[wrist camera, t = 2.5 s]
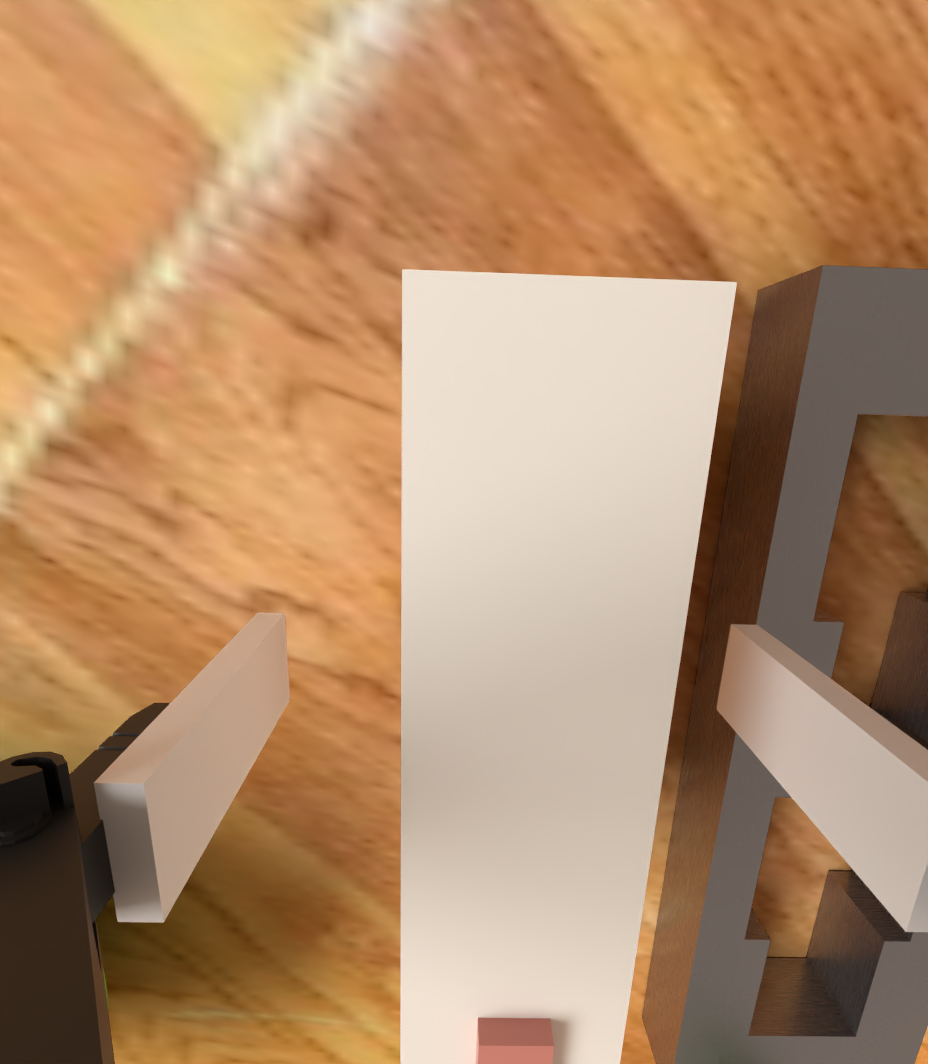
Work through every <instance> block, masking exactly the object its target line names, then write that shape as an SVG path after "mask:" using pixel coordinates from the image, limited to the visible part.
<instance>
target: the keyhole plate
mask: <svg viewBox="0 0 928 1064" xmlns="http://www.w3.org/2000/svg"><path fill="white" fill-rule="evenodd" d="M858 415H887V416H917V417H928V269H905V268H879V267H854V266H828V265H823V266H820V267H817V268H815V269H812V270H809V271H807V272H804V273H802V274H799V275H796V276H794V277H791V278H788V279H786V280H783V281H781V282H778V283H775V284H773V285H770V286H767V287H765V288H762V289H760V290H758V295H757V301H756V307H755V313H754V320H753V326H752V332H751V338H750V345H749V351H748V357H747V363H746V370H745V376H744V382H743V388H742V395H741V401H740V407H739V413H738V420H737V426H736V432H735V439H734V445H733V451H732V457H731V464H730V470H729V476H728V482H727V489H726V495H725V501H724V507H723V514H722V520H721V526H720V532H719V539H718V545H717V551H716V557H715V564H714V570H713V576H712V582H711V589H710V595H709V601H708V607H707V614H706V620H705V626H704V632H703V639H702V645H701V651H700V657H699V664H698V670H697V676H696V682H695V689H694V695H693V701H692V707H691V714H690V720H689V726H688V733H687V739H686V745H685V751H684V758H683V764H682V770H681V776H680V783H679V789H678V795H677V801H676V808H675V814H674V820H673V826H672V833H671V839H670V845H669V851H668V858H667V864H666V870H665V876H664V883H663V889H662V895H661V901H660V908H659V914H658V920H657V926H656V933H655V939H654V945H653V951H652V958H651V964H650V970H649V976H648V983H647V989H646V995H645V1001H644V1008H643V1014H642V1019H643V1022H644V1026H645V1029H646V1032H647V1036H648V1039H649V1042H650V1046H651V1049H652V1052H653V1056H654V1059H655V1062H656V1064H914V1063H915V1061H916V1058H917V1055H918V1052H919V1049H920V1046H921V1043H922V1040H923V1038H924V1035H925V1032H926V1029H927V1026H928V932H905V930H904V929H903V928H902V927H901V926H900V924H899V923H898V922H897V921H896V920H895V919H894V917H893V916H892V915H891V914H890V913H889V912H888V910H887V909H886V908H885V907H884V906H883V904H882V903H881V902H880V901H879V900H878V899H877V897H876V896H875V895H874V894H873V893H872V892H871V890H870V889H869V888H868V887H867V886H866V884H865V883H864V882H863V881H862V880H861V879H860V877H859V876H858V875H857V874H856V873H855V872H854V870H853V869H852V870H851V871H829V872H828V875H827V879H826V883H825V887H824V891H823V895H822V899H821V903H820V907H819V910H818V914H817V918H816V922H815V926H814V930H813V934H812V938H811V942H810V945H809V949H808V953H807V957H806V958H766V957H767V953H768V949H769V944H770V938H769V936H768V935H767V933H766V931H765V930H764V928H763V926H762V924H761V923H760V921H759V919H758V918H757V916H756V914H755V912H754V911H753V909H752V902H753V898H754V893H755V889H756V884H757V879H758V875H759V870H760V865H761V861H762V856H763V851H764V847H765V842H766V838H767V833H768V828H769V824H770V819H771V814H772V810H773V805H774V800H775V797H785V798H792V797H791V796H790V795H789V794H788V793H787V792H786V790H785V789H784V788H783V787H782V786H781V785H780V783H779V782H778V781H777V780H776V779H775V777H774V776H773V775H772V774H771V773H770V772H769V770H768V769H767V768H766V767H765V766H764V765H763V763H762V762H761V761H760V760H759V759H758V757H757V756H756V755H755V754H754V753H753V752H752V750H751V749H750V748H749V747H748V746H747V745H746V743H745V742H744V741H743V740H742V739H741V737H740V736H739V735H738V734H737V733H736V732H735V730H734V729H733V728H732V727H731V726H730V725H729V723H728V722H727V721H726V720H725V719H724V717H723V716H722V715H721V714H720V713H719V712H718V710H717V709H716V708H717V702H718V696H719V691H720V685H721V679H722V673H723V668H724V662H725V656H726V650H727V644H728V639H729V633H730V627H731V624H746V625H758V626H760V627H761V628H762V629H764V630H765V631H766V632H768V633H769V634H771V635H772V636H773V637H775V638H776V639H777V640H779V641H780V642H781V643H783V644H784V645H786V646H787V647H788V648H790V649H791V650H792V651H794V652H795V653H796V654H798V655H799V656H801V657H802V658H803V659H805V660H806V661H807V662H809V663H810V664H811V665H813V666H814V667H816V668H817V669H818V670H820V671H821V672H822V673H824V674H825V675H826V676H828V677H829V678H830V679H831V677H832V673H833V669H834V664H835V660H836V656H837V651H838V647H839V643H840V639H841V634H842V630H843V626H844V622H843V621H841V620H839V619H837V618H836V617H834V616H832V615H830V614H829V613H827V612H825V611H823V610H821V609H820V608H818V607H816V606H817V601H818V597H819V592H820V587H821V583H822V578H823V573H824V569H825V564H826V560H827V555H828V550H829V546H830V541H831V536H832V532H833V527H834V523H835V518H836V513H837V509H838V504H839V499H840V495H841V490H842V485H843V481H844V476H845V472H846V467H847V462H848V458H849V453H850V448H851V444H852V439H853V434H854V430H855V425H856V421H857V416H858ZM871 709H873V710H874V711H875V712H877V713H878V714H880V715H881V716H882V717H885V718H887V719H889V720H891V721H893V722H895V723H897V724H899V725H900V726H902V727H904V728H906V729H908V730H910V731H912V732H914V733H915V734H916V735H918V736H919V737H921V738H922V739H923V740H925V741H926V742H928V589H927V593H921V592H900V596H899V599H898V603H897V607H896V611H895V615H894V619H893V623H892V627H891V631H890V634H889V638H888V642H887V646H886V650H885V654H884V658H883V662H882V666H881V669H880V673H879V677H878V681H877V685H876V689H875V693H874V697H873V701H872V704H871Z"/></svg>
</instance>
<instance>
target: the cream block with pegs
mask: <svg viewBox="0 0 928 1064" xmlns="http://www.w3.org/2000/svg"><path fill="white" fill-rule="evenodd" d="M736 285H737V282H720V281H694V280H668V279H642V278H616V277H590V276H564V275H538V274H511V273H485V272H459V271H433V270H407V269H402V601H401V1043H400V1064H620V1059H621V1052H622V1046H623V1039H624V1032H625V1026H626V1019H627V1012H628V1006H629V999H630V992H631V986H632V979H633V972H634V966H635V959H636V952H637V946H638V939H639V932H640V926H641V919H642V912H643V906H644V899H645V892H646V886H647V879H648V872H649V866H650V859H651V852H652V846H653V839H654V832H655V826H656V819H657V812H658V806H659V799H660V792H661V786H662V779H663V772H664V765H665V759H666V752H667V745H668V739H669V732H670V725H671V719H672V712H673V705H674V699H675V692H676V685H677V679H678V672H679V665H680V659H681V652H682V645H683V639H684V632H685V625H686V619H687V612H688V605H689V599H690V592H691V585H692V579H693V572H694V565H695V559H696V552H697V545H698V539H699V532H700V525H701V519H702V512H703V505H704V499H705V492H706V485H707V479H708V472H709V465H710V459H711V452H712V445H713V439H714V432H715V425H716V419H717V412H718V405H719V399H720V392H721V385H722V379H723V372H724V365H725V359H726V352H727V345H728V339H729V332H730V325H731V319H732V312H733V305H734V299H735V292H736Z"/></svg>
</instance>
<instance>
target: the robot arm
mask: <svg viewBox="0 0 928 1064" xmlns="http://www.w3.org/2000/svg"><path fill="white" fill-rule="evenodd" d="M289 701H290V691H289V674H288V657H287V640H286V622H285V613H262V612H258V613H257V614H256V615H255V616H254V617H253V618H252V619H251V620H250V621H249V622H248V623H247V624H246V625H245V626H244V627H243V628H242V629H241V630H240V631H239V632H238V633H237V634H236V635H235V636H234V637H233V639H232V640H231V641H230V642H229V643H228V644H227V645H226V646H225V647H224V648H223V649H222V650H221V651H220V652H219V653H218V654H217V655H216V656H215V657H214V658H213V659H212V660H211V661H210V662H209V663H208V665H207V666H206V667H205V668H204V669H203V670H202V671H201V672H200V673H199V674H198V675H197V676H196V677H195V678H194V679H193V680H192V681H191V682H190V683H189V684H188V685H187V686H186V687H185V688H184V689H183V690H182V692H181V693H180V694H179V695H178V696H177V697H176V698H175V699H174V700H173V701H172V702H171V703H154V704H152V705H150V706H148V707H147V708H145V709H143V710H141V711H140V712H138V713H136V714H134V715H133V716H131V717H130V718H129V719H128V720H127V721H125V722H124V723H123V724H122V725H121V726H120V727H119V728H118V729H117V730H116V731H115V732H114V733H113V736H110V737H109V738H108V739H107V740H106V741H105V742H103V743H102V744H101V745H100V746H99V749H98V750H95V751H94V752H93V753H92V754H91V755H90V756H89V757H88V758H87V759H86V760H85V761H84V762H83V763H81V764H80V765H79V766H78V767H77V768H76V769H75V770H74V771H73V772H72V773H71V774H70V775H69V772H68V766H67V762H66V761H65V759H64V757H63V756H62V755H60V754H56V753H53V752H32V753H28V754H23V755H19V756H15V757H11V758H8V759H6V760H3V761H1V762H0V1064H115V1061H114V1053H113V1046H112V1038H111V1030H110V1022H109V1014H108V1006H107V998H106V990H105V982H104V974H103V966H102V958H101V950H100V942H99V934H98V929H97V923H96V918H97V917H98V915H99V914H100V912H101V911H102V909H103V908H104V907H105V905H106V904H107V902H108V901H109V899H110V898H111V897H112V895H113V898H114V904H115V910H116V916H117V921H118V922H159V923H164V921H165V919H166V918H167V916H168V914H169V912H170V910H171V909H172V907H173V905H174V903H175V902H176V900H177V898H178V896H179V895H180V893H181V891H182V889H183V888H184V886H185V884H186V882H187V881H188V879H189V877H190V875H191V873H192V872H193V870H194V868H195V866H196V865H197V863H198V861H199V859H200V858H201V856H202V854H203V852H204V851H205V849H206V847H207V845H208V843H209V842H210V840H211V838H212V836H213V835H214V833H215V831H216V829H217V828H218V826H219V824H220V822H221V821H222V819H223V817H224V815H225V814H226V812H227V810H228V808H229V806H230V805H231V803H232V801H233V799H234V798H235V796H236V794H237V792H238V791H239V789H240V787H241V785H242V784H243V782H244V780H245V778H246V777H247V775H248V773H249V771H250V769H251V768H252V766H253V764H254V762H255V761H256V759H257V757H258V755H259V754H260V752H261V750H262V748H263V747H264V745H265V743H266V741H267V740H268V738H269V736H270V734H271V732H272V731H273V729H274V727H275V725H276V724H277V722H278V720H279V718H280V717H281V715H282V713H283V711H284V710H285V708H286V706H287V704H288V703H289ZM716 709H717V710H718V712H719V713H720V714H721V715H722V716H723V717H724V719H725V720H726V721H727V722H728V723H729V725H730V726H731V727H732V728H733V729H734V730H735V732H736V733H737V734H738V735H739V736H740V737H741V739H742V740H743V741H744V742H745V743H746V745H747V746H748V747H749V748H750V749H751V750H752V752H753V753H754V754H755V755H756V756H757V757H758V759H759V760H760V761H761V762H762V763H763V765H764V766H765V767H766V768H767V769H768V770H769V772H770V773H771V774H772V775H773V776H774V777H775V779H776V780H777V781H778V782H779V783H780V785H781V786H782V787H783V788H784V789H785V790H786V792H787V793H788V794H789V795H790V796H791V797H792V799H793V800H794V801H795V802H796V803H797V805H798V806H799V807H800V808H801V809H802V810H803V812H804V813H805V814H806V815H807V816H808V817H809V819H810V820H811V821H812V822H813V823H814V824H815V826H816V827H817V828H818V829H819V830H820V832H821V833H822V834H823V835H824V836H825V837H826V839H827V840H828V841H829V842H830V843H831V844H832V846H833V847H834V848H835V849H836V850H837V852H838V853H839V854H840V855H841V856H842V857H843V859H844V860H845V861H846V862H847V863H848V864H849V866H850V867H851V868H852V869H853V870H854V872H855V873H856V874H857V875H858V876H859V877H860V879H861V880H862V881H863V882H864V883H865V884H866V886H867V887H868V888H869V889H870V890H871V892H872V893H873V894H874V895H875V896H876V897H877V899H878V900H879V901H880V902H881V903H882V904H883V906H884V907H885V908H886V909H887V910H888V912H889V913H890V914H891V915H892V916H893V917H894V919H895V920H896V921H897V922H898V923H899V924H900V926H901V927H902V928H903V929H904V930H905V932H928V742H926V741H925V740H923V739H922V738H921V737H919V736H918V735H916V734H915V733H914V732H912V731H910V730H908V729H906V728H904V727H902V726H900V725H899V724H897V723H895V722H893V721H891V720H889V719H887V718H885V717H882V716H881V715H880V714H878V713H877V712H875V711H874V710H873V709H871V708H870V707H869V706H867V705H866V704H865V703H863V702H862V701H860V700H859V699H858V698H856V697H855V696H854V695H852V694H851V693H850V692H848V691H847V690H845V689H844V688H843V687H841V686H840V685H839V684H837V683H836V682H835V681H833V680H832V679H830V678H829V677H828V676H826V675H825V674H824V673H822V672H821V671H820V670H818V669H817V668H816V667H814V666H813V665H811V664H810V663H809V662H807V661H806V660H805V659H803V658H802V657H801V656H799V655H798V654H796V653H795V652H794V651H792V650H791V649H790V648H788V647H787V646H786V645H784V644H783V643H781V642H780V641H779V640H777V639H776V638H775V637H773V636H772V635H771V634H769V633H768V632H766V631H765V630H764V629H762V628H761V627H760V626H758V625H746V624H731V627H730V633H729V639H728V644H727V650H726V656H725V662H724V668H723V673H722V679H721V685H720V691H719V696H718V702H717V708H716Z"/></svg>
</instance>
